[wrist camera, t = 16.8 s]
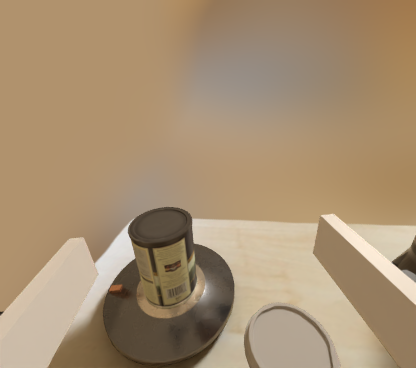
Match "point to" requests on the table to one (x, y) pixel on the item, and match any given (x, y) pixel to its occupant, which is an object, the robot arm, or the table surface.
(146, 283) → the coffee can
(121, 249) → the table surface
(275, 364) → the disposable coffee cup
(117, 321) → the turntable platter
